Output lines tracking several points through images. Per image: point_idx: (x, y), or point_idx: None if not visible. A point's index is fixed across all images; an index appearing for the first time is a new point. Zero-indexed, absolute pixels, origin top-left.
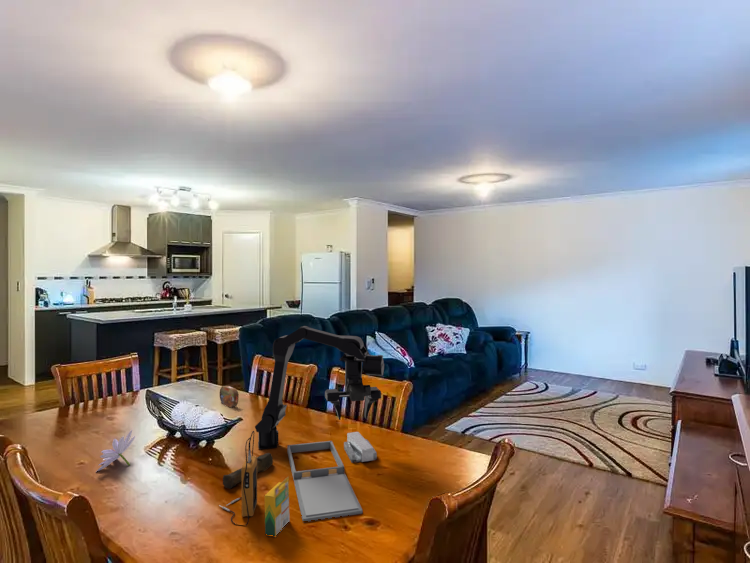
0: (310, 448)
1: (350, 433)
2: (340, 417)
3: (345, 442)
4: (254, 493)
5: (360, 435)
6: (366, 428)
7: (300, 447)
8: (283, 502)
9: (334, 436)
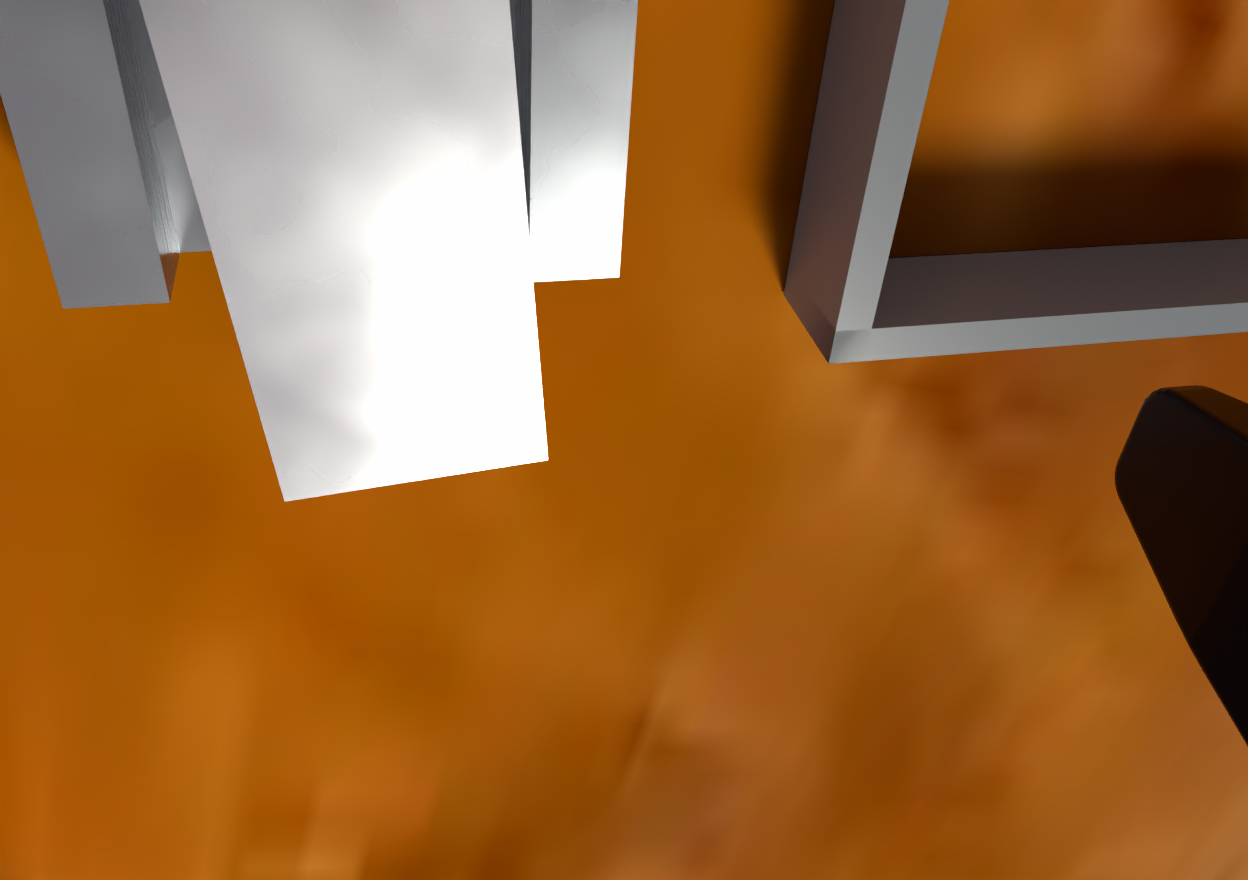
0: (1147, 264)
1: (483, 426)
2: (1231, 436)
3: (598, 244)
4: None
5: (248, 271)
6: (73, 864)
7: None
8: None
9: (609, 661)
